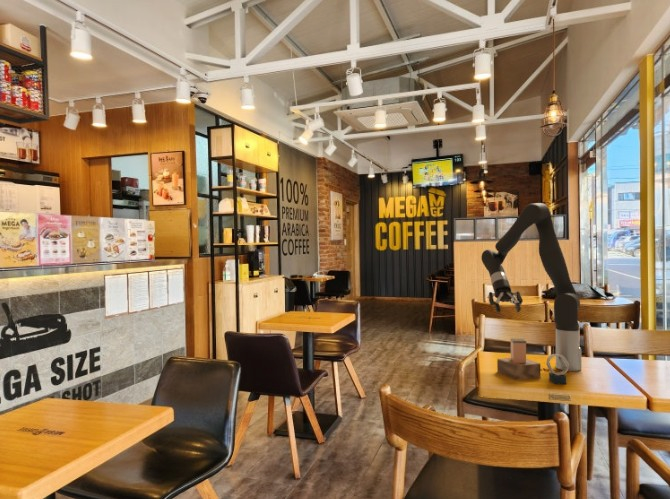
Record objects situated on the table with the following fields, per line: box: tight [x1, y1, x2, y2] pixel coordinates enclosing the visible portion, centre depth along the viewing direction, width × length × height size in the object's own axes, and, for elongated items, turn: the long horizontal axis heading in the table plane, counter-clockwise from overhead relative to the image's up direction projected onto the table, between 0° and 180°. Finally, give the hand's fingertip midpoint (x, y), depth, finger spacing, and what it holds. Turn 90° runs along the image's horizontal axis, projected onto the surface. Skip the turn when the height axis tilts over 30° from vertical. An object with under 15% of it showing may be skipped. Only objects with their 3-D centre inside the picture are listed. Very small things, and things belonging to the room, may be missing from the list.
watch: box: [546, 353, 569, 385], centre depth 180 cm, size 6×8×11 cm
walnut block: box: [496, 357, 542, 381], centre depth 191 cm, size 12×12×6 cm
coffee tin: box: [509, 338, 527, 363], centre depth 191 cm, size 5×5×9 cm
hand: (509, 311), depth 204 cm, fingers open, 8 cm apart
